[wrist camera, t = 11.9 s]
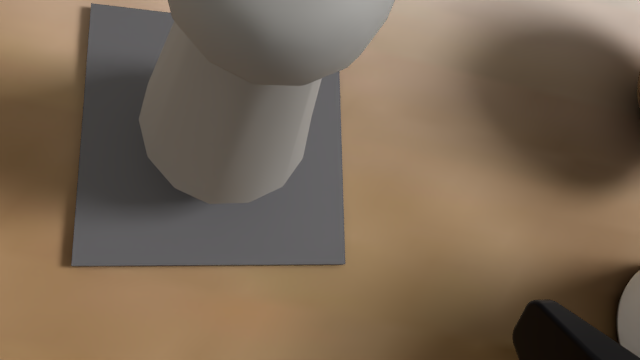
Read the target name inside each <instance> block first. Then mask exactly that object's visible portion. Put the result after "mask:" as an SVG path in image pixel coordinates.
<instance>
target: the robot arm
mask: <svg viewBox="0 0 640 360" xmlns="http://www.w3.org/2000/svg"><path fill="white" fill-rule="evenodd" d="M513 343H514V346H515V349H516V352H517V355H518V358H519V360H640V357H638V356H637V355H635V354H634V353H632V352H631V351H629V350H628V349H626V348H625V347H623V346H622V345H620V344H619V343H617V342H616V341H614V340H613V339H611V338H610V337H608V336H607V335H605V334H604V333H602V332H601V331H599V330H598V329H596V328H595V327H593V326H592V325H590V324H589V323H587V322H586V321H584V320H583V319H581V318H580V317H578V316H577V315H575V314H574V313H572V312H571V311H569V310H568V309H566V308H565V307H563V306H562V305H560V304H559V303H557V302H555V301H553V300H532V301H530V302H529V303H528V304H527V306H526V307H525V309H524V311H523V313H522V315H521V317H520V319H519V320H518V322H517V324H516V326H515V328H514V330H513Z"/></svg>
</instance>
